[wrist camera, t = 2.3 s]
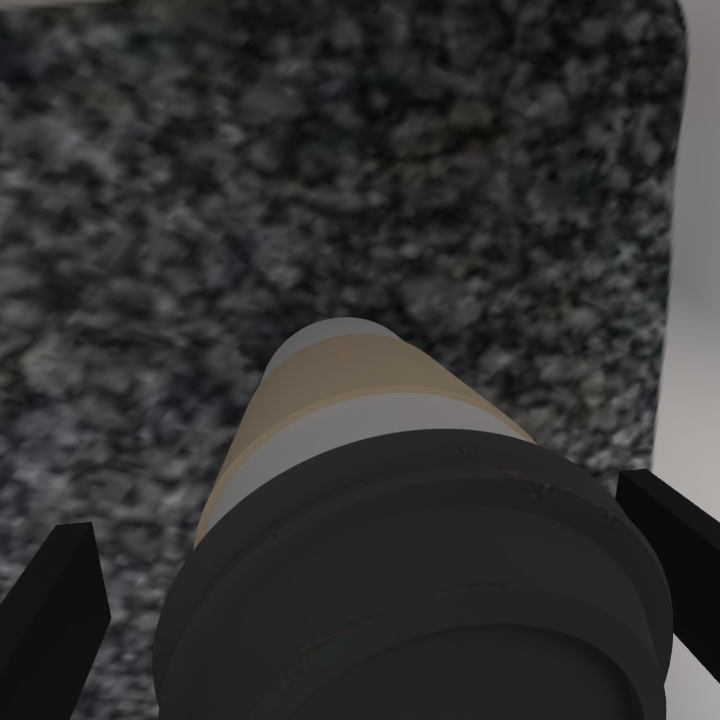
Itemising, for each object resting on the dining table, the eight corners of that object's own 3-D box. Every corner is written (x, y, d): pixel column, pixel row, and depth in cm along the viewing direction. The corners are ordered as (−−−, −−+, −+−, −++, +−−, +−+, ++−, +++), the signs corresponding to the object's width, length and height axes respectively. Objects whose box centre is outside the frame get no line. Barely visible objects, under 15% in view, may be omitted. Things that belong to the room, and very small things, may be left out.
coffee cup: (192, 444, 21) (-10, 984, 7) (294, 246, 19) (322, 396, 5) (381, 521, 23) (533, 1036, 9) (487, 351, 21) (892, 661, 7)
